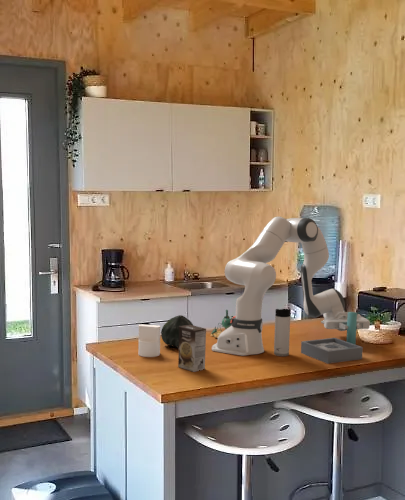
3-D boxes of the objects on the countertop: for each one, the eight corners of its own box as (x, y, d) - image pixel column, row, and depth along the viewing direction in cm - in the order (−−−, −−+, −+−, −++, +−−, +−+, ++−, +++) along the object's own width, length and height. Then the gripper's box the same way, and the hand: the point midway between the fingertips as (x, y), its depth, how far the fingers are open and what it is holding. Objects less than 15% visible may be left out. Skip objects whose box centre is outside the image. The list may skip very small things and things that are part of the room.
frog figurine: (222, 333, 306) (225, 303, 303) (244, 345, 291) (248, 314, 288) (205, 335, 300) (208, 305, 298) (227, 348, 286) (231, 316, 283)
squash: (171, 327, 290) (164, 307, 280) (202, 332, 286) (196, 311, 275) (161, 353, 281) (153, 333, 271) (193, 358, 277) (186, 338, 266)
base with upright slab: (162, 352, 268) (163, 324, 267) (155, 357, 260) (156, 328, 258) (142, 350, 271) (143, 322, 269) (135, 355, 262) (135, 327, 261)
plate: (328, 358, 260) (329, 351, 260) (311, 351, 271) (311, 344, 270) (351, 355, 266) (352, 348, 265) (333, 348, 276) (333, 342, 276)
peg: (345, 349, 279) (347, 313, 277) (346, 346, 283) (348, 311, 281) (355, 349, 278) (356, 313, 276) (355, 347, 282) (357, 312, 280)
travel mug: (277, 357, 265) (279, 309, 263) (271, 353, 271) (273, 306, 269) (291, 356, 266) (293, 309, 264) (285, 352, 273) (287, 306, 271)
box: (327, 363, 256) (328, 351, 256) (300, 352, 272) (301, 341, 272) (362, 358, 265) (362, 347, 264) (334, 348, 280) (334, 337, 280)
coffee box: (177, 367, 247) (178, 326, 245) (189, 364, 251) (190, 323, 250) (193, 372, 240) (194, 330, 239) (205, 369, 245) (206, 328, 243)
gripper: (319, 314, 291) (329, 320, 277) (362, 314, 293) (374, 320, 280) (319, 327, 291) (329, 334, 278) (362, 327, 294) (374, 334, 280)
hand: (352, 327), depth 279 cm, fingers closed on peg, 4 cm apart
